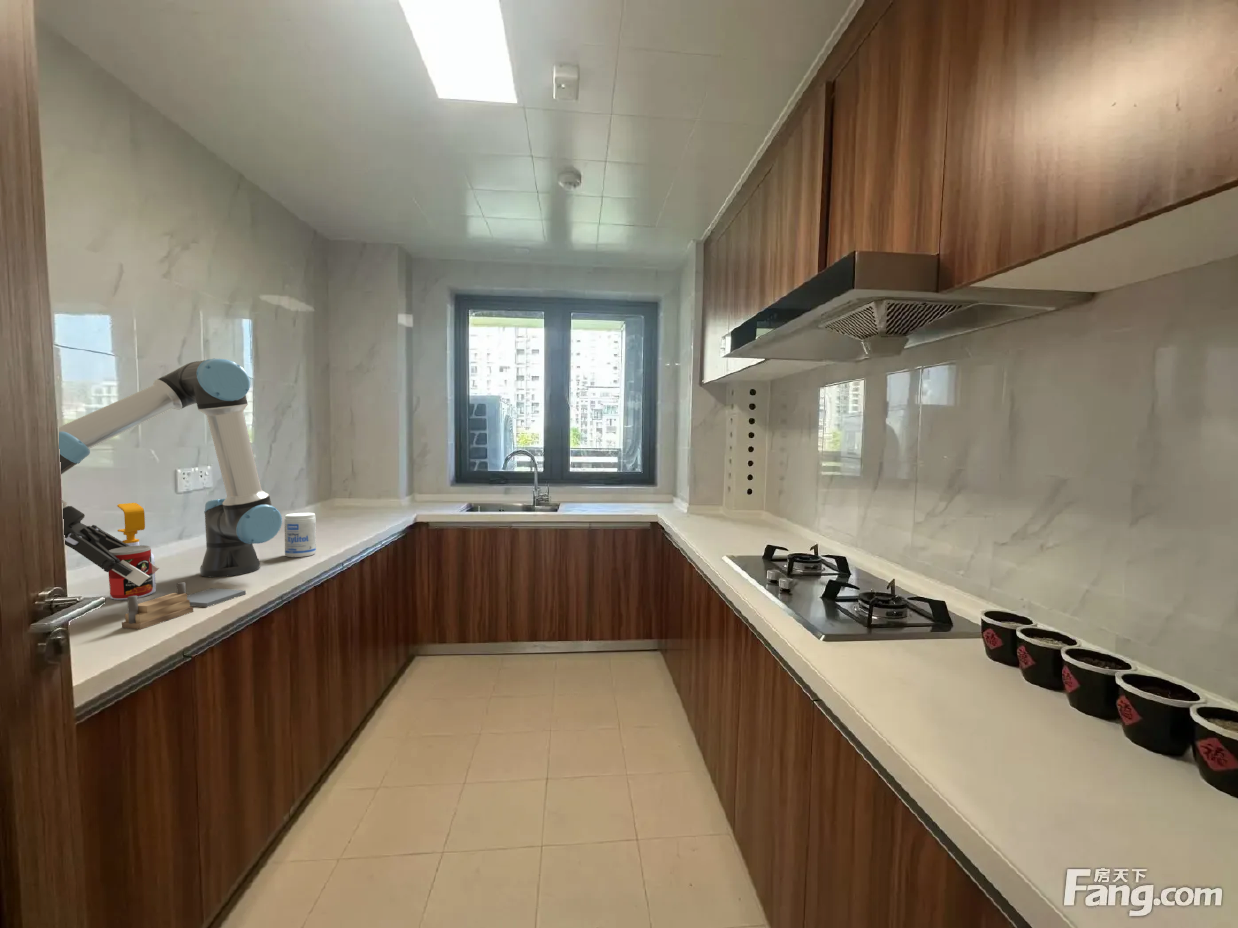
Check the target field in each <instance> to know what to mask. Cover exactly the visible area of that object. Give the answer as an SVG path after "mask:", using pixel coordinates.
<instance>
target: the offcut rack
mask: <svg viewBox="0 0 1238 928" xmlns="http://www.w3.org/2000/svg"><path fill="white" fill-rule="evenodd" d="M187 595H188V594H187V591H186V582H183V581H182V582H178V583H176V592H172V593H168V594H166V595H163V596H162V595H161V596H159V597H156V598H153V599H150V600H146V601H143V602H140V603H139V602H138V599H139V598H138V597H137V596H129V597H128V599H127V608H128V609H127V613H125V614H124V619H125V620H124V621H122V622H121V628H122V629H132V630H143V629H146V628H148V627H152V626H154V625H157V624H161V623H163V621H164V622H166V620H167V621H170V620H172V619H173V620H174V619H176V618H179V617H181V616H184V614H185V615H188V614H190V613H189V612H191V613H193V612H194V606H190V600H187ZM187 613H188V614H187ZM169 619H170V620H169ZM160 622H161V623H160Z"/></svg>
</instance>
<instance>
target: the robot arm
mask: <svg viewBox="0 0 1238 928" xmlns="http://www.w3.org/2000/svg"><path fill="white" fill-rule="evenodd" d="M250 379H251V378H250V376H249V374H248V372H247V371H246V370H245V369H244V367H242V366H241V365H240V364H239V363H237V362H235V361H233V360H230V359H225V358H210V359H205V360H197V361H192V362H189V363H186V364H185V365H182V366H180V367H178V368H177V369H175V370H173V371H171V372H170V373H167V374H165V375H163V376H161V377H159V378H157V379H154V380H153V384H152V385H151V386H148V387H147V388H144V389H141V390H139V391H136V392H135V393H133V394H131V395H130V394H129V396H126V397H124V398H122V399H119V400H117V401H115V402H112V403H110V404H108V405H105V406H104V407H102V408H99V409H96V410H94V411H92V412H90V413H88V414H85V415H83V416H80V417H78V418H76V419H74V420H72V421H70V422H67V423H64V424H63V425H61V426H58V427H59V449H60V462H61V475H63V474H64V473H66V472H67V471H69V470H70V469H72V468H74V467H75V466H76V465H77V464H80V463H81V462H82V461H83V460H84V459H85V458H87V457H88V456H89V455H90V454H91V451H90V449H92V448H94V447H96V446H98V445H100V444H103V443H104V442H106V441H110V439H113V438H114V437H117V436H120V435H121V434H124V433H125V432H128V431H130V430H132V429H133V428H135V427H138V426H140V425H142V424H144V423H147V422H149V421H150V420H153V419H154V418H157V417H159V416H161V415H162V414H165V413H167V412H169V411H171V410H176V411H180V410H182V409H184V408H186V407H189V406H191V405H192V406H193V405H195V404H196V406H197V410H198V411H199V412H201V413H203V414H204V415H206V418H207V421H208V427H209V430H210V434H211V437H212V442H213V446H214V450H215V454H216V457H217V461H218V465H219V469H220V473H221V477H222V481H223V485H224V490H225V493H226V497H225V498H219V499H210V500H208V501H206V502H205V505H204V513H203V514H204V526H205V542H206V543H205V544H206V545H205V546H206V547H205V548H206V549H205V553H204V557H203V560H202V563H201V565H200V568H199V572H200V573H199V575H200V576H201V577H204V578H222V577H231V576H238V575H243V574H248V573H252V572H255V571H257V570H259V569H260V568H261V562H260V559H259V558H258V555H257V552H256V549H255V548H254V545H253V544H257V545H258V544H264V543H267V542H268V541H270V540H272V539H273V538H275V536H277V534H278V533H279V531H280V530H281V528H282V525H283V516H282V514H281V512H280V510H278V509H277V508H276V507H275V506H274V505H272V501H271V497H270V494H269V493H268V492H266V491H264V490H263V489H262V485H261V482H260V481H261V480H260V477H259V473H258V468H257V463H256V460H255V456H254V452H253V447H252V443H251V439H250V435H249V431H248V426H247V423H246V418H245V414H244V410H245V409H246V408H247V406H248V405H249V404H248V399H247V394H248V392H249V391H250V388H251V380H250ZM61 500H62V503H63V519H64V535H65V537H64V540H65V545H64V546H67V547H68V548H70V549H73V550H74V551H75V552H76V553H78V554H80V555H81V556H83V557H84V558H86V559H87V560H88V561H90V562H92V563H93V564H94V565H96V566H97V567H98V568H100V569H101V570H103V572H106V573H108V572H109V571H110V570H111V569H112V570H113V571H115V572H116V573H118V574H120V575H121V576H123V577H125V578H126V579H128V580H130V581H131V582H133V583H135V584H136V585H138V586H140V585H141V584H142V583H143V582H144V581H146V580H147V579H148V578H149V577H150V576H149V575H147V574H145V573H144V572H142V571H141V570H139V569H137V568H136V567H134V566H132V565H131V564H129V563H128V562H126V561H124V560H122V561H121V562H120V560H119V559H118V558H117V557H116V556H114V555H113V554H112V553H111V552H110V551H109V550H111V549H115V548H120V547H127V546H129V545H127V544H126V543H124V542H122V541H123V540H120V539H119V538H117V537H115V536H113V535H111V534H109V533H108V532H106V531H104V530H103V529H101V528H100V527H98V526H97V525H95V524H92V525H87V524H86V525H85V524H83V522H82V521H83V520H84V518H85V513H83V512H82V511H80V510H78V509H77V508H75V507H74V506H73V505H67V504H68V502H66V501H64V500H63V499H61ZM159 569H160V567H158V566H157V565H156V564H155V565H154V564H152V575H153V574H154V573H155V574H156V572H158V570H159Z"/></svg>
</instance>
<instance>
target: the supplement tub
mask: <svg viewBox="0 0 1238 928" xmlns="http://www.w3.org/2000/svg"><path fill="white" fill-rule="evenodd" d="M316 520H317V518H316V514H315V513H314V512H296V513H293V512H292V513H288V514H285V515H284V555H285V556H286V557H288V558H305V557H310V556H313V555H315V554H316V552H317V532H316V531H317V528H316V527H317V521H316Z"/></svg>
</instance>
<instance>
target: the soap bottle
mask: <svg viewBox="0 0 1238 928" xmlns="http://www.w3.org/2000/svg"><path fill="white" fill-rule="evenodd" d="M116 507H117V508H118V509H120V510H121V511H122V512H123V515H124V518H123V519H124V528H120V529H117V532H119V533H123V535H124V536H126V539H122V540H121V541H122V542H124V543H126V544H127V545H129V546H140V539H139V538H136V535H137V534H138V531H144V530H145V529H146V521H145V520H146V519H145V518H146V517H145V516H146V515H145V510H144V508H143V506H141V505H140V504H138V503H137V502H129V503H128V502H127V503H117V505H116ZM151 560H152V564H154V565H155V566H156V564H155V562H156V561H155V555H154V554H153V553H152V552H151ZM152 577H153V589H152V591H151V592H150V593H148V594H145V595H141V596H137V597H138V599H140V598H144V597H147V596H150V595H152V594H154V593H156V591H157V586H156V572H155V573H154V574H153V575H152ZM109 598H110V599H111V600H115V601H116V600H117V601H125V600H127V601H128V598H113V597H112V596H111V594H110V593H109Z"/></svg>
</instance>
